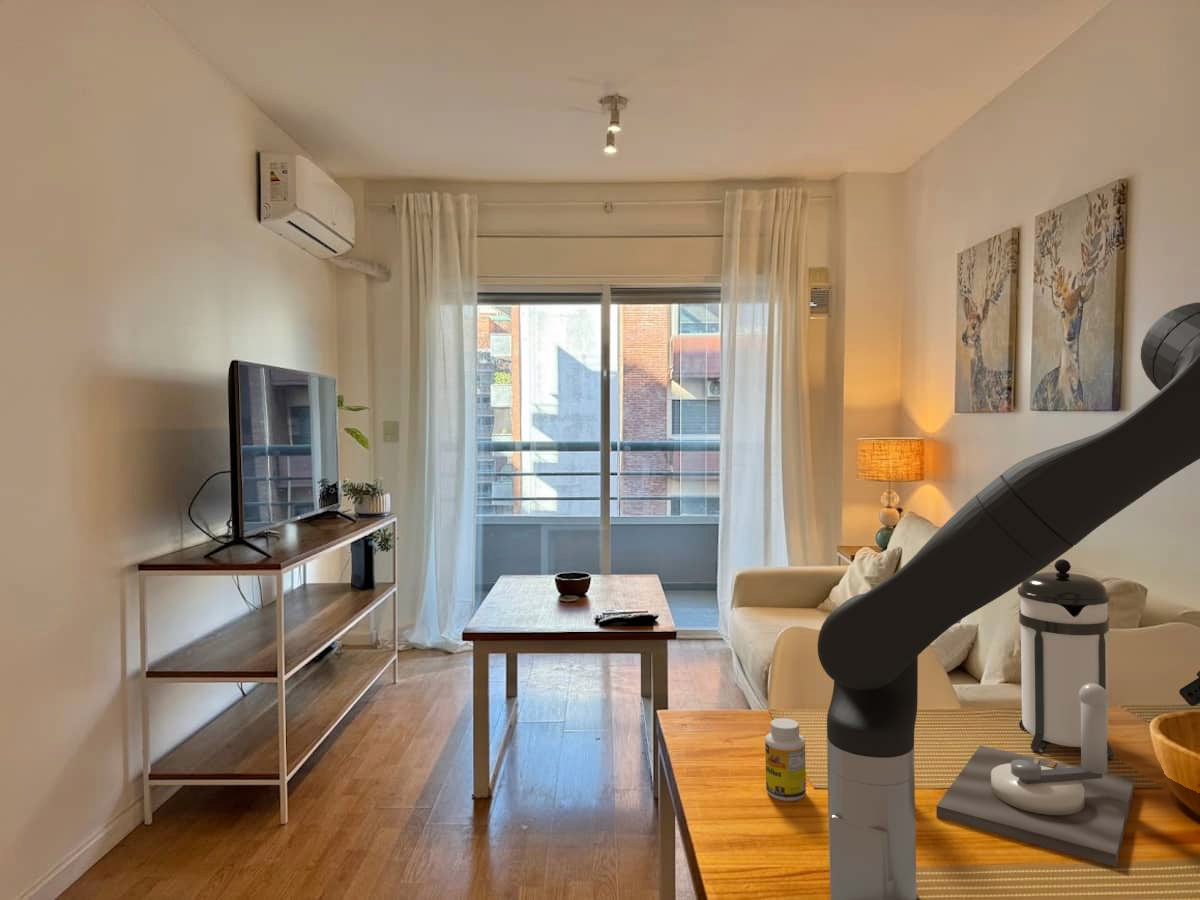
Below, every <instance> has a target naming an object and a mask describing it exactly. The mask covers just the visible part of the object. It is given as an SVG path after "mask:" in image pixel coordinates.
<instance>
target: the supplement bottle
mask: <svg viewBox="0 0 1200 900" xmlns="http://www.w3.org/2000/svg"><path fill="white" fill-rule="evenodd" d="M764 739H765V741H764V742H765V745H764V746H765V789H766V792H767V793H768V794H769V795H770V796H771V797H772V798H774V799H777V800H779V801H783V802H793V801H794V802H795V801H798V800H801V799H802V798H803V797H805V795H806V791H807V789H806V787H807V786H806V785H807V782H806V780H807V779H806V777H807V776H806V770H807V769H806V740H805V738H804V736H802V735H801V734H800V724H799V723H798V722H797V721H796V720H794V719H791V718H782V717H780V718H776V719H772V720H770V732H769V733H768V734H766V736H765V738H764Z"/></svg>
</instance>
